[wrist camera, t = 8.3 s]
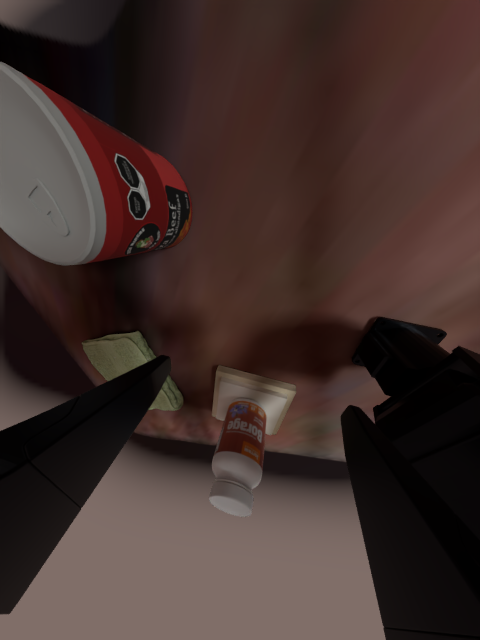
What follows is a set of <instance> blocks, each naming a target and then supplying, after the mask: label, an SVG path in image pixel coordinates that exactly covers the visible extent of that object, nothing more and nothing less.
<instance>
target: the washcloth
mask: <svg viewBox="0 0 480 640" xmlns="http://www.w3.org/2000/svg"><path fill="white" fill-rule="evenodd" d="M82 344H83V350H84V352H85V353H86V354H87V356H88V358H89V360H90V361H91V364H92V365H93V366H94V367H95V368H96V369H97V370H98V372H100V373H101V374H102V376H104V378H105V379H106V380H108V381H110V380H112V379H114V378H116V377H118V376H120V375H122V374H124V373H126V372H128V371H130V370H132V369H134V368H136V367H138V366H140V365H142V364H144V363H146V362H148V361H150V360H152V359H155V358H156V356H155V355H154V354H153V351H152V350H151V349H150V348H149V347H148V345H147V342H146V341H145V339H144V338H143V336H142V334H141V333H140V332H139V331H137V332H133V333H127V334H113V335H107V336H105V337H102V338H98V339H93V340H86V341H84V342H82ZM182 406H183V396H182V394H181V392H180V391H179V390H178V388H177V386H176V384H175V383H174V381H172V380H171V377H170V376H169V375H168V377H167V379H166V381H165V382H164V384H163V386H162V388H161V390H160V392H159V394H158V395H157V397H156V399H155V400H154V402H153V403H152V405H151V406H150V408H149V409H148V410H151V409H154V408H158V409H160V410H171V411H174V410H178V409H180V408H181V407H182Z"/></svg>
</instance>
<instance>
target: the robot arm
mask: <svg viewBox="0 0 480 640" xmlns="http://www.w3.org/2000/svg"><path fill="white" fill-rule="evenodd" d="M382 321H384V322H383V323H380V322H382ZM438 334H439V335H438ZM446 335H447V333H446V332H445V331H443V330H441V329H437V328H432V327H428V326H423V325H418V324H413V323H408V322H404V321H399V320H394V319H389V318H385V317H380V318H378V319H377V320H376V321H375V323H374V324H373V326H372V327H371V329H370V331H369V332H368V334H366V336H365V337H364V339H363V340H362V342H361V343H360V345H359V347H358V348H357V350H356V353H355V354H354V356H353V357H352V362H353V363H354V364H356V365H360V366H365V367H366V368H367V370H368V372H369V373H370V375H371V377H373V378H375V379H376V381H377V382H378V384H379V386H380V387H381V389H382V390H383V392H384V394H385V395H388V396H391V397H390V398H388V399H387V400H386V401H384V402H383V403H381V404H380V405H376V406H375V407H374V408H373V412H374V418H375V424H374V423H373V422H372V421H371V419H370V418H369V417H368V416H367V415H366V414H365V413H364V412H363V411H362V409H360V408H359V407H356V406H352V405H349V406H348V407H347V408H346V409H345V411H344V412H343V413H342V415H341V426H342V434H343V443H344V451H345V457H346V462H347V466H348V471H349V475H350V480H351V484H352V488H353V493H354V498H355V502H356V507H357V511H358V516H359V520H360V524H361V529H362V533H363V538H364V542H365V547H366V551H367V556H368V560H369V565H370V569H371V574H372V578H373V583H374V587H375V592H376V596H377V600H378V605H379V610H380V614H381V619H382V623H383V626H384V633H385V637H386V640H480V354H477V353H475V352H473V351H470V350H468V349H465V348H463V347H461V346H458V347H457V348H455V349H454V350H452V352H453V353H451V354H450V353H448V352H447V351H446V350H444V349H443V348H442V347H440V346H439V345H438V344H439V343H440V342H441V341H442V340H443V339H444V338H445V337H446ZM356 360H357V361H356ZM170 371H171V360H170V357H169V356H165V355H161V356H159V357H157V358H155V359H152V360H150V361H148V362H146V363H144V364H142V365H140V366H138V367H136V368H134V369H132V370H130V371H128V372H126V373H124V374H122V375H120V376H118V377H116V378H114V379H112V380H110V381H108V382H106V383H104V384H102V385H100V386H98V387H96V388H94V389H91V390H90V391H88V392H85V393H83V394H81V395H80V396H77V397H75V398H74V399H71V400H69V401H67V402H65V403H63V404H61V405H58V406H56V407H54V408H52V409H50V410H48V411H46V412H43V413H41V414H39V415H37V416H34V417H32V418H30V419H28V420H25V421H23V422H20V423H18V424H16V425H13V426H11V427H9V428H6V429H4V430H2V431H0V614H10V613H11V611H12V610H13V608H14V607H15V606H16V604H17V603H18V602H19V600H20V599H21V597H22V596H23V594H24V593H25V591H26V590H27V588H28V587H29V585H30V584H31V582H32V581H33V579H34V578H35V577H36V575H37V574H38V572H39V571H40V569H41V568H42V566H43V565H44V563H45V562H46V560H47V559H48V557H49V556H50V554H51V553H52V551H53V550H54V548H55V547H56V546H57V544H58V542H59V541H60V540H61V538H62V537H63V535H64V534H65V532H66V531H67V529H68V528H69V526H70V525H71V523H72V522H73V520H74V519H75V517H76V516H77V514H78V513H79V512H80V510H81V508H82V507H83V505H84V504H85V502H86V501H87V499H88V498H89V497H90V495H91V494H92V492H93V491H94V489H95V488H96V486H97V485H98V483H99V482H100V480H101V479H102V477H103V476H104V474H105V473H106V471H107V470H108V468H109V467H110V465H111V464H112V463H113V461H114V459H115V458H116V457H117V455H118V454H119V452H120V451H121V449H122V448H123V446H124V444H125V443H126V442H127V440H128V439H129V437H130V436H131V435H132V433H133V432H134V430H135V429H136V427H137V426H138V424H139V423H140V421H141V420H142V418H143V417H144V415H145V414H146V412H147V411H148V409H149V408H150V406H151V405H152V403H153V402H154V400H155V399H156V397H157V395H158V394H159V392H160V390H161V388H162V386H163V384H164V382H165V381H166V379H167V377H168V375H169V373H170Z"/></svg>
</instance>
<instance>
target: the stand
mask: <svg viewBox="0 0 480 640" xmlns="http://www.w3.org/2000/svg"><path fill="white" fill-rule="evenodd" d="M295 393H296V385H293V384H289V383H285V382H281V381H277V380H274V379H270V378H266V377H262V376H258V375H255V374H251V373H247V372H243V371H240V370H236V369H232V368H228V367H224V366H221V365H219V366H218V368H217V370H216V379H215V389H214V399H213V409H212V416H214V417H216V419H219V420H223V421H224V420H225V417H226V413H227V410H228V407H229V405H230V403H231V402H232V401H234V400H236V399H240V398H246V399H251V400H254V401H256V402H258V403H259V404H260V405H262V406H263V408H264V409H265V411H266V415H267V419H266V432H265V433H266V434H269V435H271V434H274V435H276V433H277V431H278V429H279V427H280V425H281V423H282V420H283V418H284V416H285V414H286V412H287V410H288V408H289V406H290V404H291V402H292V400H293V397H294V395H295Z"/></svg>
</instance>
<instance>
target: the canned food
mask: <svg viewBox="0 0 480 640" xmlns="http://www.w3.org/2000/svg"><path fill="white" fill-rule="evenodd" d="M191 221H192V203H191V199H190V195H189V192H188V190H187V187H186V185H185V183H184V181H183V180H182V178H181V176H180V175H179V173H178V172H177V171H176V169H175V168H174V167H173V166H172V164H171V163H169V162H168V161H167V160H166V159H165V158H164V157H162V156H160V155H159V154H157V153H155V152H154V151H152V150H150V149H149V148H147V147H145V146H144V145H142V144H140V143H139V142H137V141H135V140H134V139H132V138H130V137H129V136H127V135H125V134H124V133H122V132H120V131H119V130H117V129H115V128H114V127H112V126H110V125H109V124H107V123H105V122H104V121H102V120H100V119H99V118H97V117H95V116H94V115H92V114H90V113H89V112H87V111H85V110H84V109H82V108H80V107H79V106H77V105H75V104H74V103H72V102H70V101H69V100H67V99H65V98H64V97H62V96H60V95H59V94H57V93H55V92H54V91H52V90H50V89H48V88H47V87H45V86H43V85H42V84H40V83H38V82H36V81H34V80H32V79H30V78H29V77H27V76H25V75H24V74H22V73H20V72H19V71H17V70H15V69H13V68H12V67H10V66H8V65H7V64H5V63H2V62H0V227H1V228H2V229H3V230H4V231H5V232H6V233H7V234H8V235H9V236H10V237H11V238H12V239H13V240H15V241H16V242H17V243H18V244H19V245H21V246H22V247H23V248H25V249H26V250H28V251H29V252H31V253H32V254H34V255H36V256H37V257H39V258H41V259H43V260H45V261H48V262H51V263H54V264H58V265H79V264H86V263H91V262H97V261H104V260H109V259H114V258H119V257H124V256H129V255H134V254H139V253H144V252H149V251H154V250H159V249H164V248H169V247H173V246H175V245H177V244H178V243H179V242H181V241H182V240H183V239H184V237H185V236H186V235H187V233H188V231H189V229H190V226H191Z"/></svg>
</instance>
